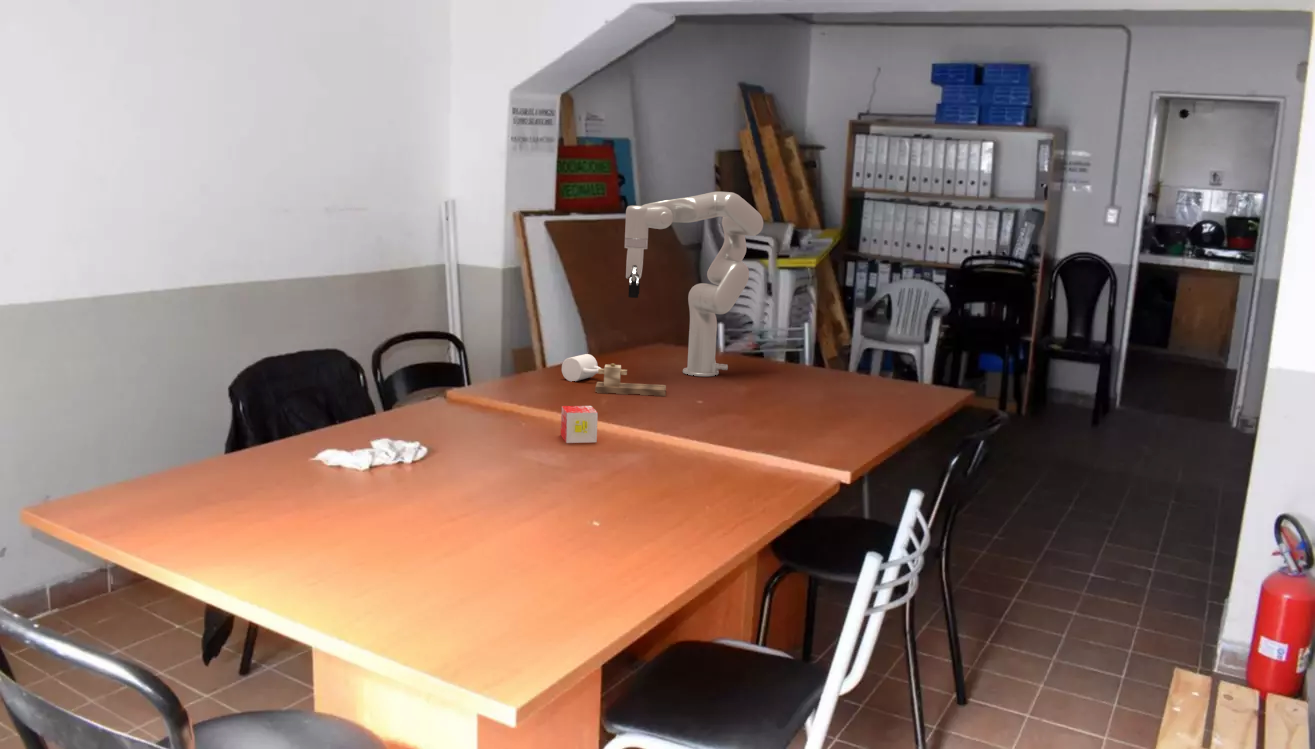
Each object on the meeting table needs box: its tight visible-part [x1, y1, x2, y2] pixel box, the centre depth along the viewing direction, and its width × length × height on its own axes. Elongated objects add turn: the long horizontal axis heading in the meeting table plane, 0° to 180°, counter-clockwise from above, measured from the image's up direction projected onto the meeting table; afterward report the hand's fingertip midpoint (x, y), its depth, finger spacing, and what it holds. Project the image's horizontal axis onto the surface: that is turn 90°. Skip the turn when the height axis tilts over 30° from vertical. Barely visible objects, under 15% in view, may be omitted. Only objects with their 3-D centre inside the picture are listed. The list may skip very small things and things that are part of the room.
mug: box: [561, 353, 602, 382], centre depth 358 cm, size 12×10×8 cm
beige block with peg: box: [597, 363, 628, 387], centre depth 342 cm, size 9×4×7 cm, turn 89°
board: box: [594, 381, 667, 397], centre depth 343 cm, size 22×8×2 cm, turn 89°
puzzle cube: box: [560, 405, 599, 444], centre depth 280 cm, size 8×8×8 cm
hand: (633, 295), depth 357 cm, fingers open, 9 cm apart
